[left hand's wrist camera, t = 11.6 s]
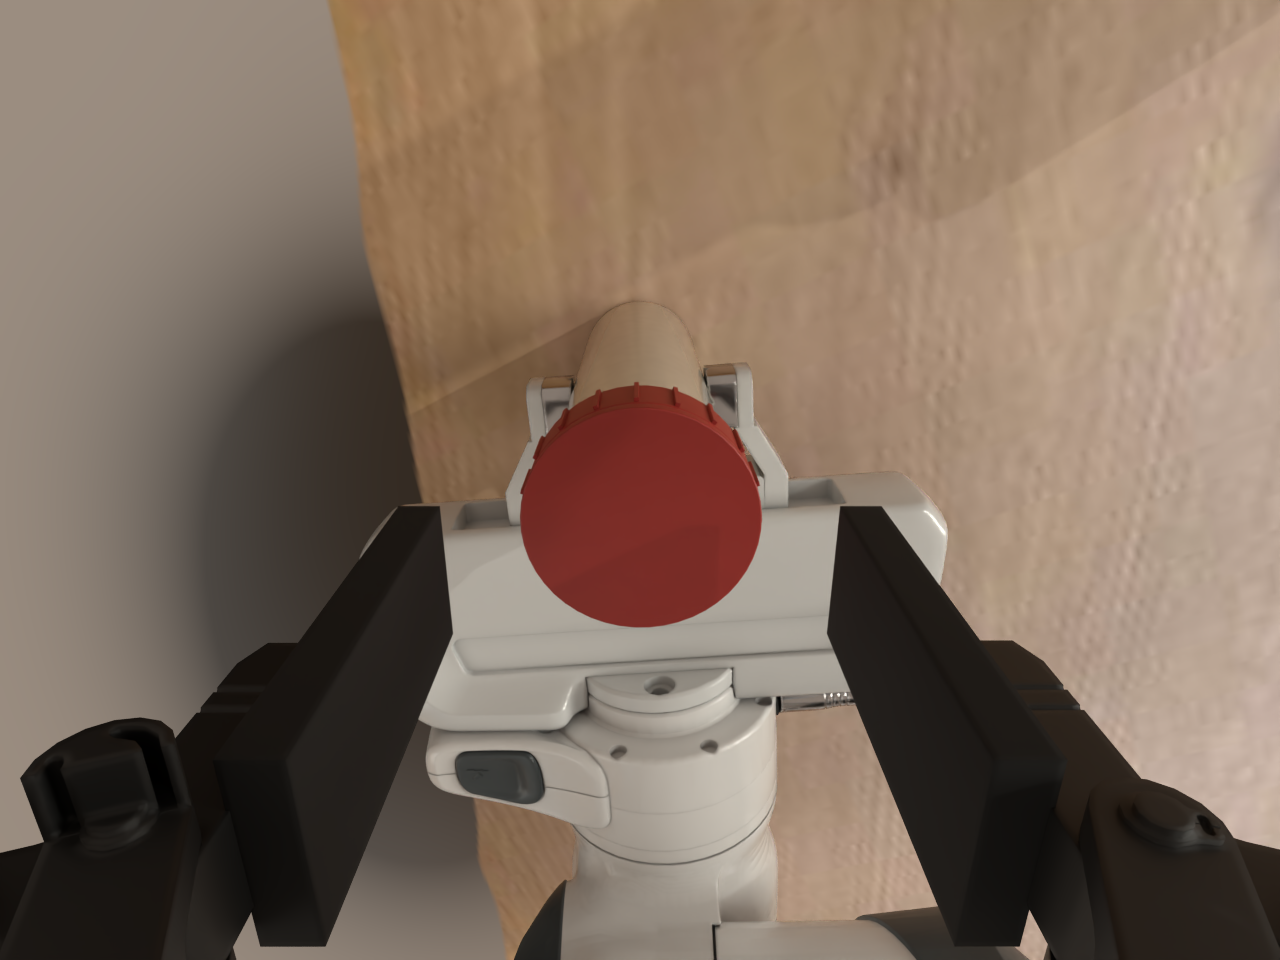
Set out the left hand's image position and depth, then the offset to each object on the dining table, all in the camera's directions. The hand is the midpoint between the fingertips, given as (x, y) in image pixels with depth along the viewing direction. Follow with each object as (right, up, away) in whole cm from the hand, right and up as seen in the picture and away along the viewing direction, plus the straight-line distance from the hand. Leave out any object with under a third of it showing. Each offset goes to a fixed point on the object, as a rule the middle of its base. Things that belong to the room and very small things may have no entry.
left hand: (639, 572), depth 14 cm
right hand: (0, +5, +11) cm, 12 cm away
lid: (0, +1, +2) cm, 3 cm away
